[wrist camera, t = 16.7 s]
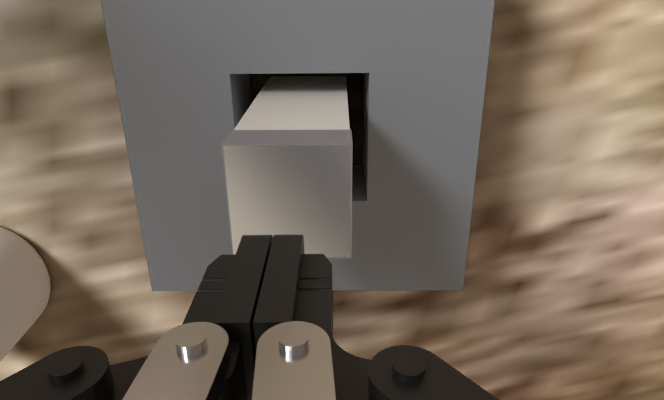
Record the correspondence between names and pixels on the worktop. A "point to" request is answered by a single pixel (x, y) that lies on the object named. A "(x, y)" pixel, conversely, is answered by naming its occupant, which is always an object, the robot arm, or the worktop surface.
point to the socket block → (306, 57)
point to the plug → (293, 165)
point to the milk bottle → (20, 288)
